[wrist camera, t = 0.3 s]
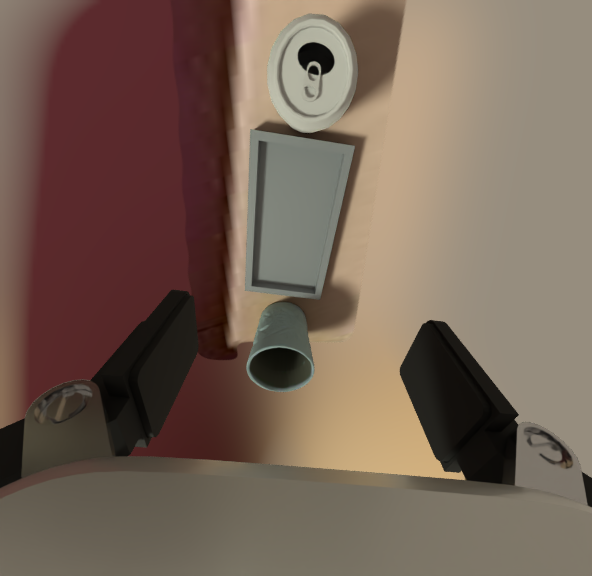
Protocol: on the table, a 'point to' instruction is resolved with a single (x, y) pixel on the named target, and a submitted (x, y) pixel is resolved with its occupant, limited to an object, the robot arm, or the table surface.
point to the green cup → (281, 349)
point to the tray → (293, 211)
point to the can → (312, 72)
